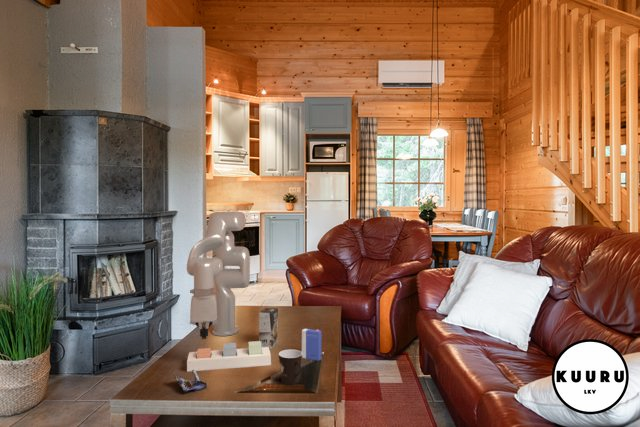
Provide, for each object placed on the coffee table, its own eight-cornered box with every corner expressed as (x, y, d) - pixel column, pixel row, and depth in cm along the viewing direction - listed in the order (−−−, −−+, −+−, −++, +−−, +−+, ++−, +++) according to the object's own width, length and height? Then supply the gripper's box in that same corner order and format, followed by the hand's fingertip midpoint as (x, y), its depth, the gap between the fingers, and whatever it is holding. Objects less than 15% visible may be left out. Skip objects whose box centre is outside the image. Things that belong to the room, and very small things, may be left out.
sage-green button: (248, 357, 172) (248, 345, 172) (248, 353, 177) (248, 341, 177) (261, 356, 173) (261, 345, 173) (260, 352, 178) (260, 341, 178)
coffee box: (272, 349, 190) (272, 313, 189) (258, 348, 191) (258, 312, 190) (278, 342, 199) (278, 307, 198) (265, 341, 200) (265, 307, 199)
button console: (187, 371, 165) (187, 361, 165) (189, 361, 175) (189, 352, 175) (270, 365, 172) (270, 355, 171) (268, 356, 181) (268, 346, 181)
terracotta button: (197, 365, 168) (197, 353, 168) (197, 360, 173) (197, 348, 173) (210, 364, 169) (210, 352, 169) (210, 359, 174) (210, 347, 174)
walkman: (321, 358, 179) (321, 329, 179) (318, 360, 177) (318, 331, 176) (304, 355, 182) (304, 327, 182) (301, 357, 180) (301, 329, 179)
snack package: (206, 379, 159) (173, 381, 156) (207, 363, 158) (173, 365, 155) (206, 398, 148) (170, 401, 145) (207, 382, 147) (170, 384, 144)
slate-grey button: (223, 359, 170) (223, 347, 170) (223, 355, 175) (223, 343, 175) (236, 358, 171) (236, 346, 171) (236, 354, 176) (236, 342, 176)
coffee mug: (278, 376, 161) (278, 349, 161) (301, 375, 162) (301, 349, 161) (278, 389, 150) (278, 361, 149) (303, 389, 150) (303, 360, 150)
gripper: (183, 295, 165) (183, 342, 166) (223, 293, 168) (223, 339, 169) (185, 290, 172) (185, 336, 173) (223, 289, 175) (223, 333, 176)
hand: (204, 337), depth 171 cm, fingers closed
